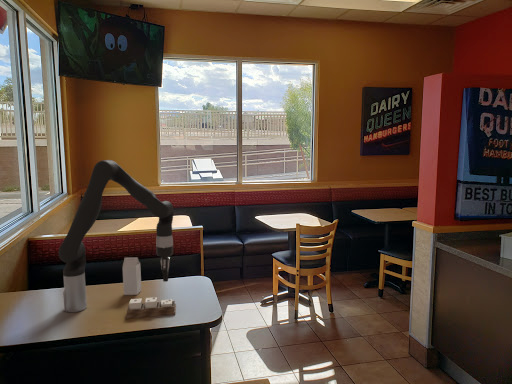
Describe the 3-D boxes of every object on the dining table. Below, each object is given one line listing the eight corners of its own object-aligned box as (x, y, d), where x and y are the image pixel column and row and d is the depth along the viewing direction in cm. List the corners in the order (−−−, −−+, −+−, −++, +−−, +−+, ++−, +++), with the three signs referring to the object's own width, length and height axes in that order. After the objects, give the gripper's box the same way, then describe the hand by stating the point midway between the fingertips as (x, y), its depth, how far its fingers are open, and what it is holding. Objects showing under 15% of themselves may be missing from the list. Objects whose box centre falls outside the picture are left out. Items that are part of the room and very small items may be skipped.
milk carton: (137, 295, 207) (135, 259, 205) (123, 295, 207) (121, 259, 205) (141, 290, 214) (139, 255, 212) (128, 290, 214) (126, 255, 212)
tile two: (145, 308, 183) (145, 301, 183) (146, 304, 188) (146, 297, 188) (156, 307, 184) (156, 301, 184) (157, 303, 189) (157, 296, 188)
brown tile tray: (125, 318, 180) (125, 311, 179) (128, 309, 189) (128, 303, 189) (175, 314, 183) (175, 307, 183) (176, 305, 193) (175, 299, 193)
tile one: (129, 309, 182) (129, 303, 182) (131, 305, 187) (130, 298, 186) (140, 308, 183) (140, 302, 182) (142, 304, 188) (141, 298, 187)
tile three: (161, 310, 185) (160, 304, 184) (161, 306, 189) (161, 299, 189) (172, 309, 185) (171, 303, 185) (172, 305, 190) (172, 299, 190)
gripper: (157, 241, 189) (158, 276, 192) (155, 248, 176) (156, 286, 179) (173, 240, 191) (174, 275, 193) (172, 248, 178) (173, 285, 180)
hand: (165, 280), depth 186 cm, fingers closed
